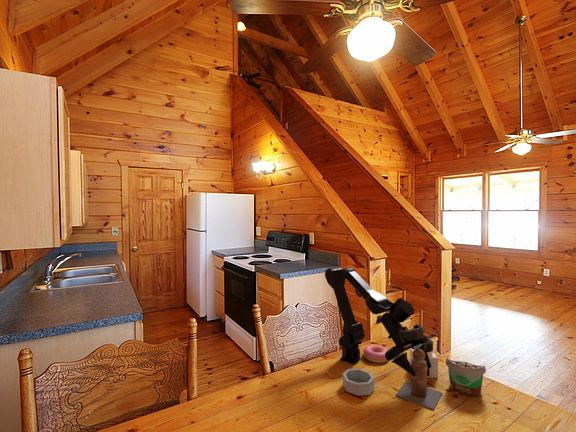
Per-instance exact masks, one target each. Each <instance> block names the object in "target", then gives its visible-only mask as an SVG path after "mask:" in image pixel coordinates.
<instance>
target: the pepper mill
mask: <svg viewBox="0 0 576 432" xmlns="http://www.w3.org/2000/svg"><path fill="white" fill-rule="evenodd" d="M424 359H425V353H424V351H423V350H421V349H415V350H414V351H413V359H411V366H412V368H413V369H414V371H415V373H416V376H415V377H414V376H412V375H411V374H410V377H411V379H410V382H411V393H412V394H413V395H414V396H416V397H420V398H424V397H426V396H427V388H428V387H427V385H428V383H427V380H428V378H427V362H426V361H425V360H424Z"/></svg>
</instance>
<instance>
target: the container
mask: <svg viewBox="0 0 576 432" xmlns="http://www.w3.org/2000/svg"><path fill="white" fill-rule="evenodd" d="M428 340H429V341H427V342H428V344H427V348H426V350H427V354H428V357H429V360H430V363H431V366H432V367H431V368H428V367H427V379H430V378H431V379H437V378H439V358H438V356H437V355H436V354H435V353H434V342H433V340H431V339H430V338H428ZM427 342H426V343H427ZM414 350H415V349H414ZM414 350H413V349H409V356H410V357H409V362H410V364H411V359H413V351H414Z"/></svg>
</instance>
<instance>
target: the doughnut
mask: <svg viewBox="0 0 576 432" xmlns="http://www.w3.org/2000/svg"><path fill="white" fill-rule="evenodd" d="M388 350H389V349H388V348H386V347H384V346H382V345H379V344H369V345H366V346H365V347H364V348H363V353H362V354H363V356H364V358H365V359H366V360H367V361H369V362H372V363H375V364H376V363H377V364H383V363H387V362H388V361H387V359H386V357H385V352H387V351H388Z"/></svg>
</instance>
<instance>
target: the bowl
mask: <svg viewBox="0 0 576 432" xmlns="http://www.w3.org/2000/svg"><path fill="white" fill-rule="evenodd" d="M342 386H343V388H344V390H345V391H346V392H348V393H350V394H352V395H355V396H370V394H372V393H373V391H375V377H374V376H373V375H372V373H371V372H370V371H369V370H365V369H361V368H348V369H346V370H345V371H344V372H343V373H342Z"/></svg>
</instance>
